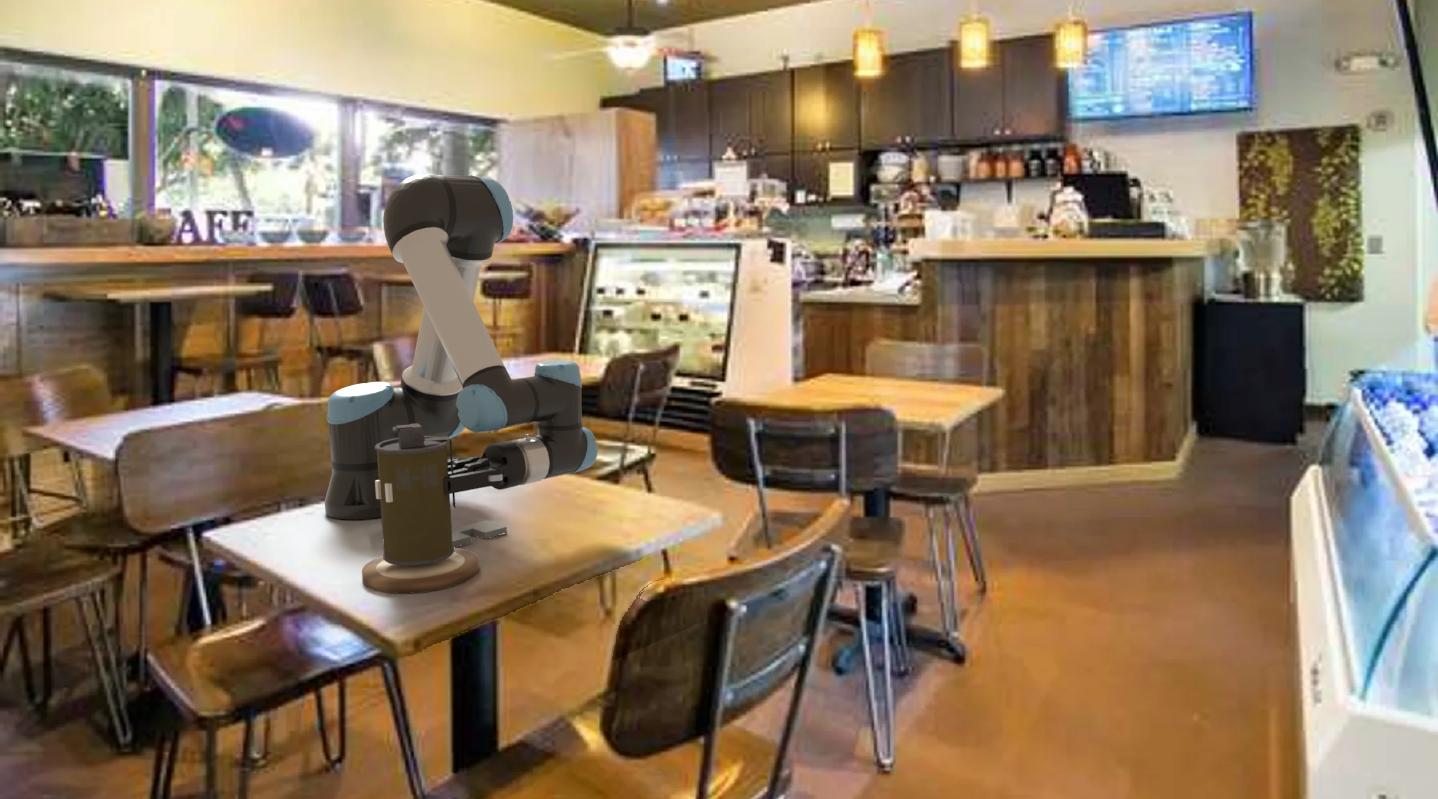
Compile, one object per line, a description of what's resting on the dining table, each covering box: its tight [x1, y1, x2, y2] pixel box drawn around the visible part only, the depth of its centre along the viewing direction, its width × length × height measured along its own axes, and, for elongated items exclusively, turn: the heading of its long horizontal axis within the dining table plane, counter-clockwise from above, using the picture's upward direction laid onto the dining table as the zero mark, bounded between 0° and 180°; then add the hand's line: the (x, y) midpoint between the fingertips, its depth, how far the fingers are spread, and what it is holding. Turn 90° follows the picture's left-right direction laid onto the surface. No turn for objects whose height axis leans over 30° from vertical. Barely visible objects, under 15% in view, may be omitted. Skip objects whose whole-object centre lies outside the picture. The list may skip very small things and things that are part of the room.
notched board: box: [452, 519, 508, 548], centre depth 170 cm, size 6×12×1 cm, turn 138°
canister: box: [375, 423, 456, 566], centre depth 150 cm, size 11×10×20 cm
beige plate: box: [361, 547, 480, 595], centre depth 152 cm, size 17×17×2 cm
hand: (381, 491), depth 146 cm, fingers closed on canister, 2 cm apart
